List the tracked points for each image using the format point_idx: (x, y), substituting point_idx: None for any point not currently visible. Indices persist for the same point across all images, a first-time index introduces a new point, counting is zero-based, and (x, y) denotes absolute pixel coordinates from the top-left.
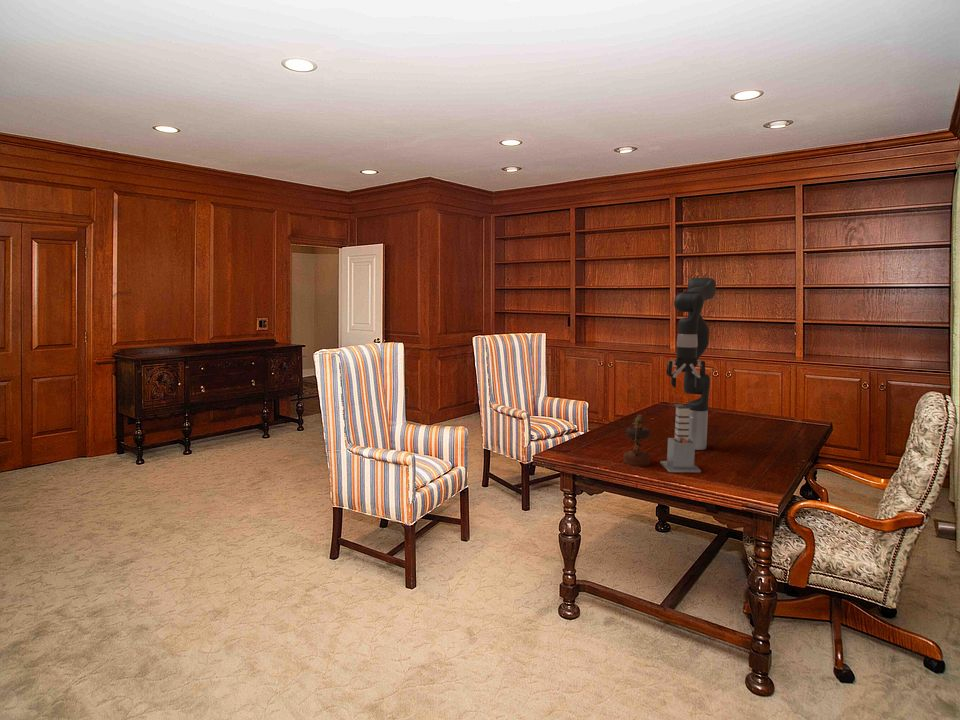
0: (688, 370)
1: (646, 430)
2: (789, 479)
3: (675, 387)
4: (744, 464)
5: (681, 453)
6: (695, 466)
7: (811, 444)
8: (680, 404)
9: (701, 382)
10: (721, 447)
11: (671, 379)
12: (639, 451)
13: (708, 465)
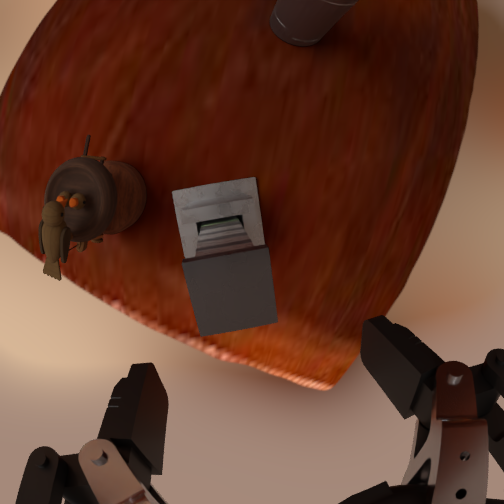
0: None
1: (97, 224)
2: (414, 262)
3: (165, 393)
4: (379, 165)
5: None
6: (259, 227)
7: (475, 51)
8: (221, 267)
9: None
10: (356, 30)
11: (106, 433)
12: (113, 173)
13: (298, 185)
